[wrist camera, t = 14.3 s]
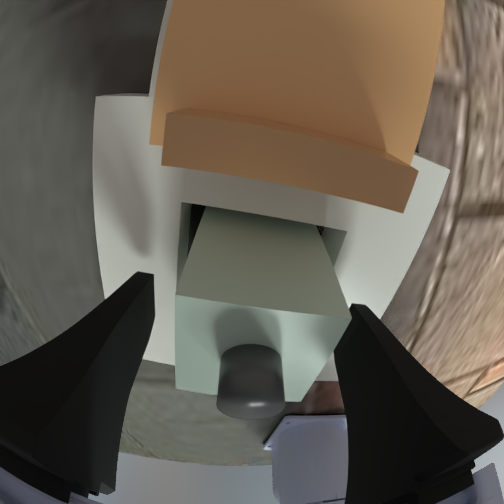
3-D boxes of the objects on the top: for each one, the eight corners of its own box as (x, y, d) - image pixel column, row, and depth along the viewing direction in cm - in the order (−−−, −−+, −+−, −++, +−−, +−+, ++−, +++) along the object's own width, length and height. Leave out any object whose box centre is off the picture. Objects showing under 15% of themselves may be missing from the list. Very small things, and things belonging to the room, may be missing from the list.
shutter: (392, 188, 9) (430, 221, 7) (155, 141, 8) (121, 161, 6) (436, -7, 5) (480, -20, 3) (203, -72, 4) (188, -110, 2)
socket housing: (331, 350, 18) (338, 381, 15) (129, 322, 16) (116, 352, 14) (445, 41, 8) (478, 39, 6) (151, -30, 6) (130, -51, 4)
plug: (286, 291, 15) (304, 437, 8) (200, 278, 14) (169, 425, 8) (311, 213, 13) (367, 363, 6) (210, 195, 12) (160, 342, 5)
